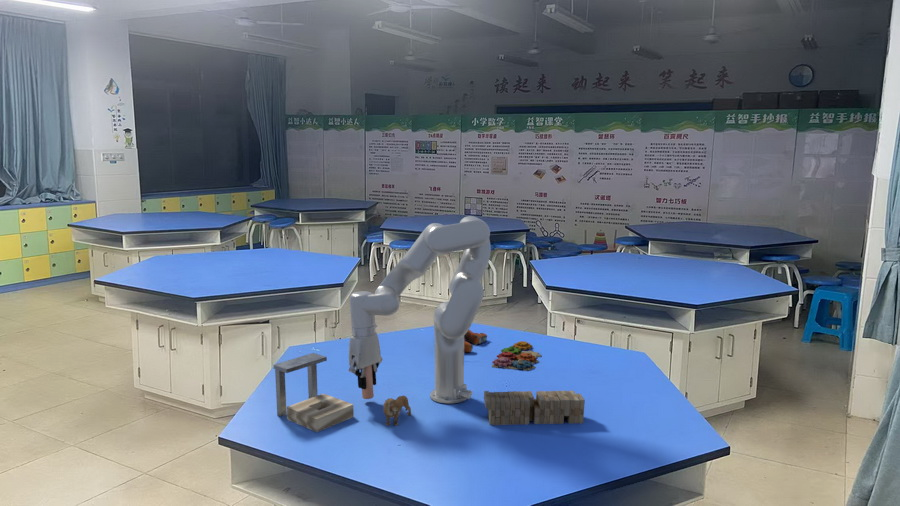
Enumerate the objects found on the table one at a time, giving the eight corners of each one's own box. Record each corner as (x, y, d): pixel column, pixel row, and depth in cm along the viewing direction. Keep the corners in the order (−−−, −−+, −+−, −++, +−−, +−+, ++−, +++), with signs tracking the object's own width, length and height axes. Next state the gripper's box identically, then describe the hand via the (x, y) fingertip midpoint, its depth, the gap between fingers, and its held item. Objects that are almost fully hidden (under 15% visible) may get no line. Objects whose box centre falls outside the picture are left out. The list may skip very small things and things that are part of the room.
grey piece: (328, 406, 204) (326, 356, 202) (288, 421, 193) (286, 369, 190) (315, 401, 208) (313, 352, 206) (275, 415, 197) (273, 364, 194)
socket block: (353, 417, 196) (353, 404, 195) (316, 432, 185) (316, 419, 185) (323, 405, 205) (323, 393, 204) (287, 419, 194) (286, 406, 194)
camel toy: (430, 351, 255) (473, 361, 251) (437, 318, 256) (479, 327, 252) (445, 348, 279) (483, 357, 275) (451, 318, 280) (490, 326, 276)
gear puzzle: (507, 344, 270) (507, 335, 269) (546, 348, 265) (546, 338, 265) (490, 368, 241) (490, 358, 240) (533, 373, 236) (533, 362, 235)
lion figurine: (396, 432, 186) (396, 402, 184) (379, 429, 187) (379, 400, 186) (414, 412, 199) (413, 384, 198) (398, 410, 201) (397, 382, 200)
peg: (376, 396, 207) (373, 363, 206) (367, 400, 205) (365, 366, 203) (368, 394, 210) (366, 361, 208) (360, 397, 207) (357, 364, 205)
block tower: (577, 416, 199) (482, 415, 198) (578, 390, 198) (483, 388, 196) (583, 427, 191) (485, 425, 190) (585, 400, 190) (486, 398, 189)
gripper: (374, 323, 212) (377, 376, 215) (335, 335, 200) (339, 391, 203) (390, 326, 208) (394, 380, 211) (351, 339, 195) (355, 397, 198)
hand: (367, 385), depth 207 cm, fingers closed on peg, 3 cm apart
